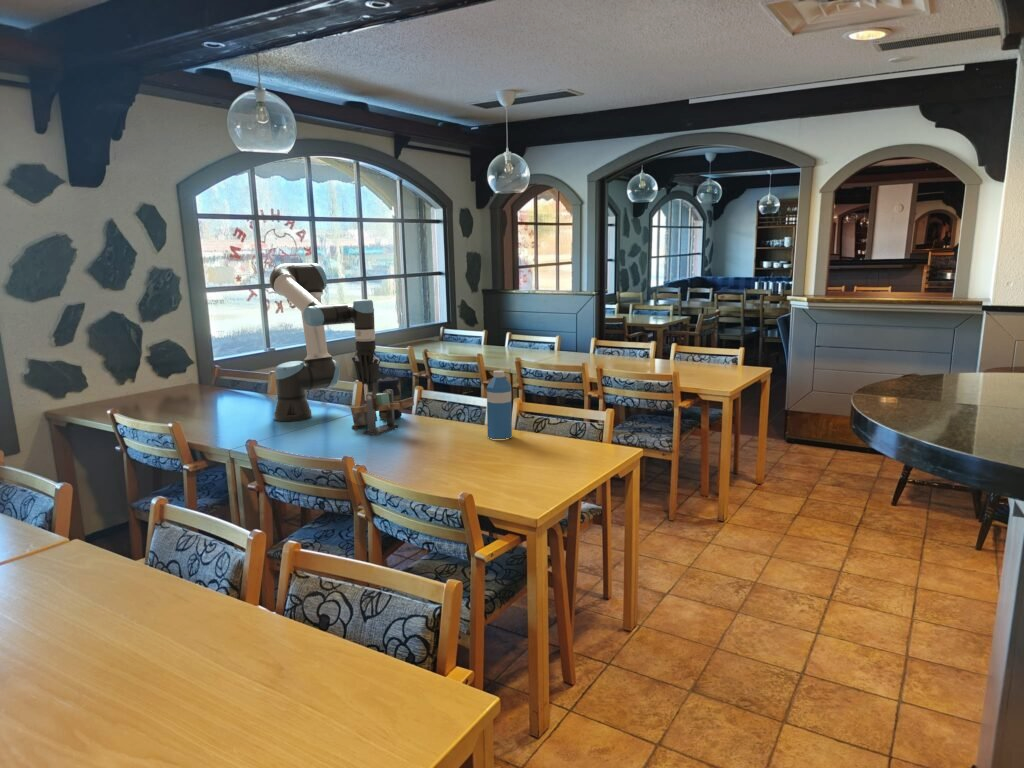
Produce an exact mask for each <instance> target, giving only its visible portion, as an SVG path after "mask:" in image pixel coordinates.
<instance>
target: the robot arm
mask: <svg viewBox="0 0 1024 768" xmlns="http://www.w3.org/2000/svg"><path fill="white" fill-rule="evenodd" d="M327 280H328V278H327V274H326V272H325V269H324V268H323V267H322V266H321V265H320V264H319V263H314V262H299V263H281V264H279V265H278V266H276V267H274V268H273V269H272V271H271V273H270V275H269V284H270V287H271V289H272V290H273V291H274V292H275V293H276V294H277V295H279V296H281V297H284V298H286V299H287V300H288V301H289V302H290V303H291V304H292V305H293V306H295V308H297V309H298V310H299V311H300V312H301V320H302V327H303V334H304V340H305V347H306V353H307V354H306V357H305V358H304V359H303V360H304V361H303V360H294V361H292V360H291V361H287V362H283V363H280V364H278V365H277V366H276V367H275V369H274V371H275V372H274V379H275V388H276V403H275V404H276V405H275V411H274V413H273V418H274V420H275V421H276V422H277V421H279V422H296V421H297V422H298V421H303V420H307V419H310V418H311V417H312V409H311V407H310V404H309V402H308V400H307V392H309V391H313V390H314V391H315V390H322V389H324V390H325V389H328V388H332V387H334V386H336V385H337V384H338V381H339V378H340V366H339V363H338V361H336V360H334V359H333V355H331V354H330V353H329V352H328V345H327V337H326V330H325V326H333V325H345V324H346V325H347V324H353V325H354V339H355V350H356V351H357V352H356V355H355V356H354V357H351V360H352V362H353V363H354V364H353V365H354V369H355V371H356V376H357V381H358V383H359V382H360V383H362V392H364V401H366V395H367V394H370V395H372V394H373V391H374V383H377V380H378V375H379V368H380V363H381V361H382V359H381V358H378V357H377V356H376V355H377V354H376V352H375V351H376V349H377V347H376V340H375V339H376V329H375V308H374V302H373V300H372V299H366V298H365V299H354V300H353V303H349V302H347V303H341V304H330V305H329V304H326V305H325V304H323V303H322V302H321V297H322V295H323V294H324V292H323V291H325V289H326V287H327V283H328V281H327Z"/></svg>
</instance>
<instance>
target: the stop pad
mask: <svg viewBox="0 0 1024 768" xmlns="http://www.w3.org/2000/svg"><path fill="white" fill-rule="evenodd" d="M367 426H368V424H367V425H357V426H354V424H353V425H351V430H357V431H358V430H362V429H365V428H368V427H367Z"/></svg>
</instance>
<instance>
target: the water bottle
mask: <svg viewBox="0 0 1024 768" xmlns="http://www.w3.org/2000/svg"><path fill="white" fill-rule="evenodd" d="M492 373H493V374H492V376H493V377H492V378H491V380H490V381H489V383H488V384H487V386H486V409H487V410H486V414H487V419H486V420H487V421H486V422H487V426H486V427H487V438H488V437H489V438H492V439H506V438H510V437H511V436H512V434H513V433H512V432H513V431H512V430H513V429H512V426H513V425H512V419H513V418H512V417H513V416H512V415H513V414H512V384H511V383H510V381H509V380H508V379H507V378H506V376H505V370H502V369H501V370H493V371H492ZM512 437H513V436H512ZM512 437H511V438H512Z"/></svg>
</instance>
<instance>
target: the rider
mask: <svg viewBox="0 0 1024 768" xmlns="http://www.w3.org/2000/svg"><path fill="white" fill-rule="evenodd" d="M375 394H376V397H377V402H378V405H383V404H390V401H389V396H388V393H380V394H378V393H375Z"/></svg>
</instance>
